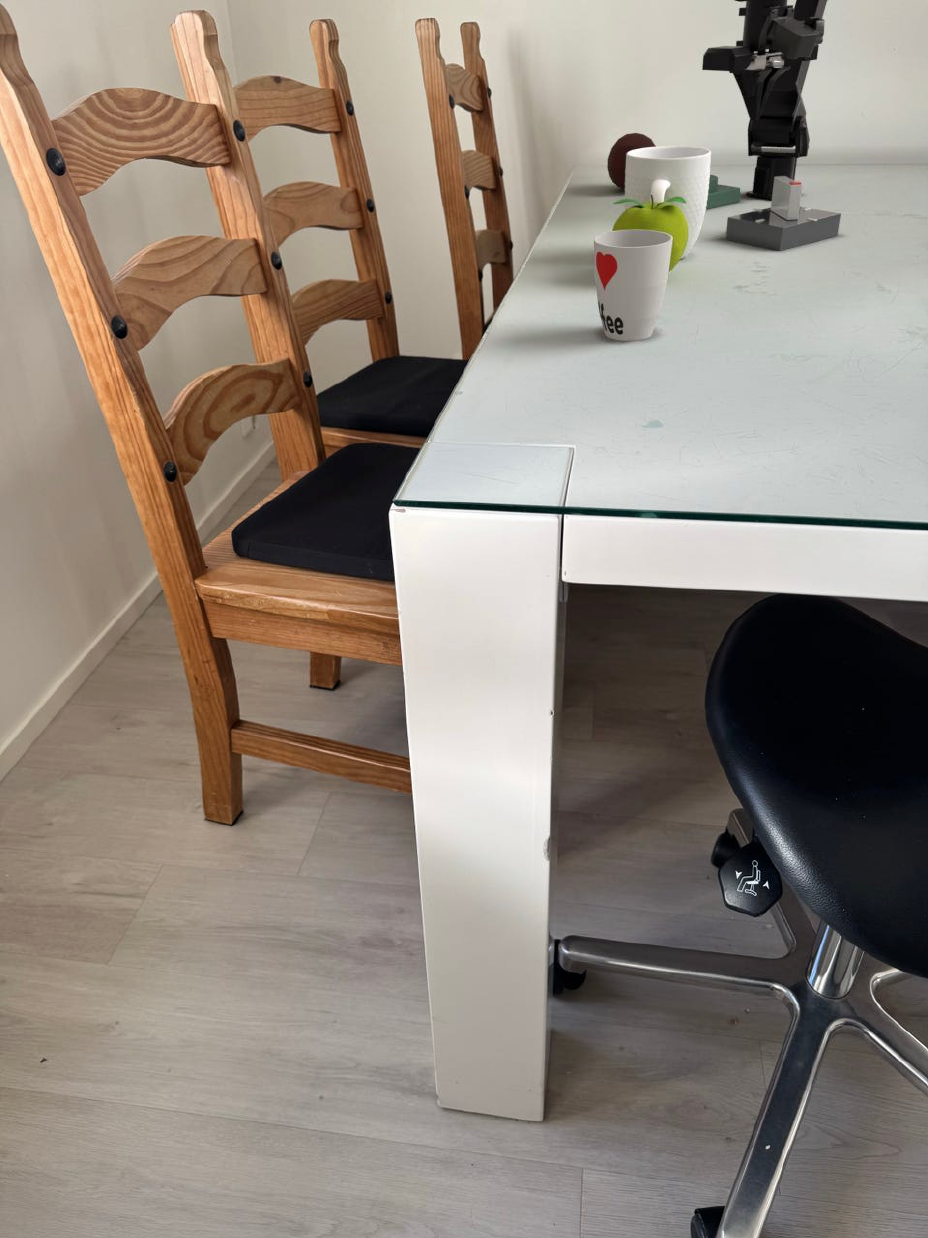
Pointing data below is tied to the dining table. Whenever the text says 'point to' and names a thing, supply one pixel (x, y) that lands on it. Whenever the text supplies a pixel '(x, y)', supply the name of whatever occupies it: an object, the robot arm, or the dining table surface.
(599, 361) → the dining table surface
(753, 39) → the robot arm
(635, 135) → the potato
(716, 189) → the tap control
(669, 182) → the mug
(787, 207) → the red-tipped white block
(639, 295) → the cup
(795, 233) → the base
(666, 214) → the fruit
